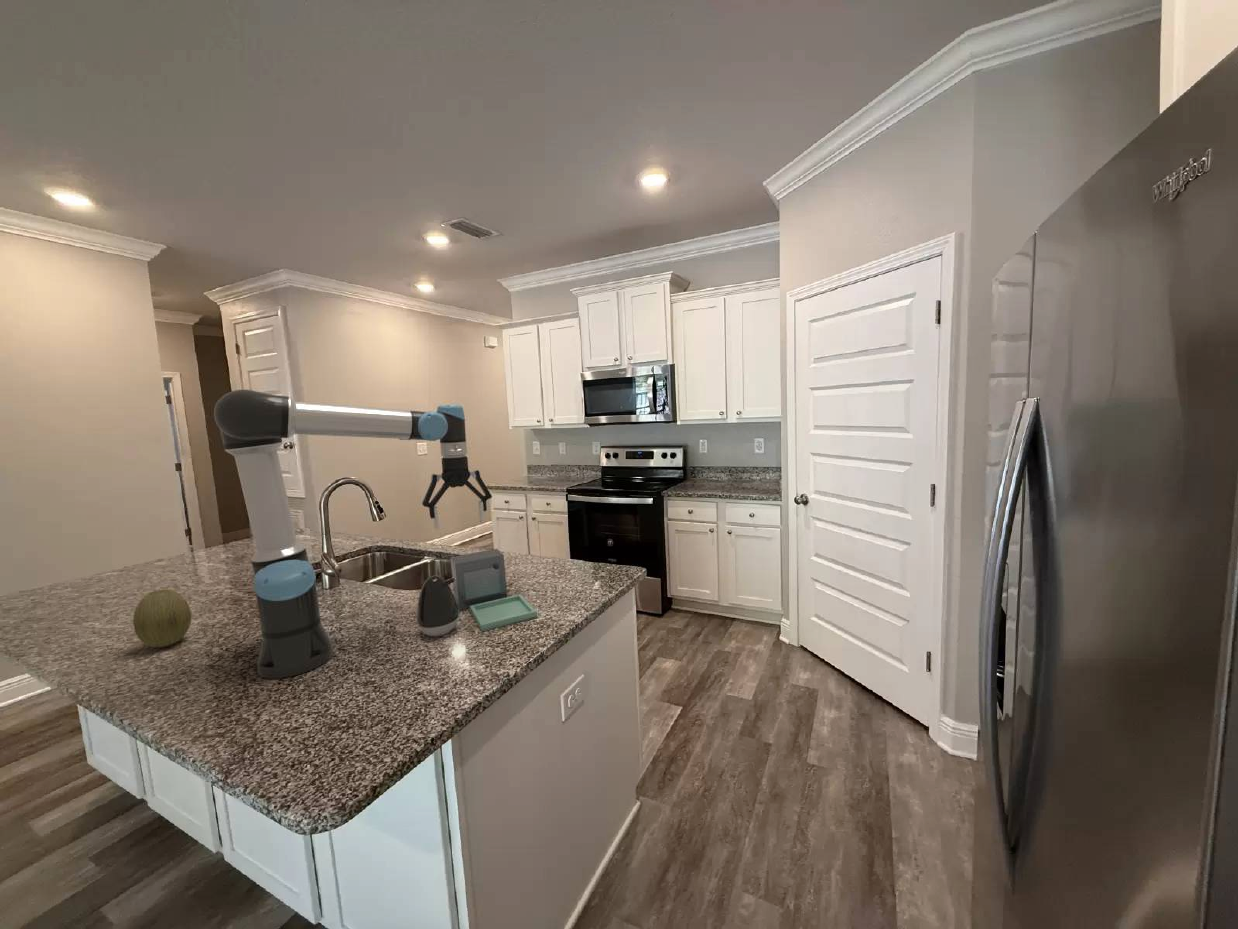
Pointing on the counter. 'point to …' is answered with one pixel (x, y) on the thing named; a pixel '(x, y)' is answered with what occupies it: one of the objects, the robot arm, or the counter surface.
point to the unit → (478, 578)
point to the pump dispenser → (436, 607)
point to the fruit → (162, 618)
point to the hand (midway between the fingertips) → (459, 525)
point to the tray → (502, 612)
